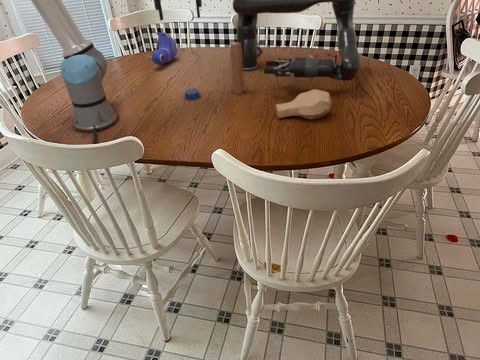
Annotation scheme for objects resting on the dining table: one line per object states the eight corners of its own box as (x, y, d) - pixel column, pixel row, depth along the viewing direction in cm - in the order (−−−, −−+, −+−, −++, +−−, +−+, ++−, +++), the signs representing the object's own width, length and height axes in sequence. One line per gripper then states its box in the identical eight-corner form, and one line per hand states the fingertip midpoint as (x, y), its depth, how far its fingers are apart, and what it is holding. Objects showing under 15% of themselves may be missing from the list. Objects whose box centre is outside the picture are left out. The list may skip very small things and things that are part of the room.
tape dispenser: (333, 81, 157) (348, 64, 170) (335, 70, 154) (350, 54, 166) (297, 74, 164) (314, 58, 177) (297, 63, 161) (315, 47, 174)
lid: (189, 93, 151) (189, 88, 150) (201, 95, 149) (201, 89, 148) (182, 98, 147) (182, 93, 146) (195, 100, 145) (194, 94, 144)
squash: (335, 120, 125) (335, 98, 118) (278, 130, 127) (276, 109, 120) (328, 102, 132) (328, 81, 126) (275, 112, 134) (272, 92, 128)
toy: (165, 64, 197) (145, 70, 175) (161, 31, 190) (139, 33, 168) (182, 63, 195) (163, 69, 172) (178, 30, 188) (158, 32, 166)
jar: (244, 93, 148) (241, 44, 137) (233, 94, 148) (229, 45, 137) (243, 89, 152) (240, 41, 141) (232, 90, 152) (229, 42, 140)
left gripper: (130, -48, 114) (144, 22, 127) (207, -53, 115) (214, 18, 127) (135, -49, 121) (148, 18, 133) (208, -54, 121) (214, 13, 133)
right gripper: (305, 83, 136) (263, 82, 139) (305, 70, 147) (266, 70, 150) (306, 64, 132) (263, 63, 134) (306, 52, 143) (266, 52, 145)
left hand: (180, 18), depth 130 cm, fingers open, 13 cm apart
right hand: (265, 67), depth 142 cm, fingers open, 8 cm apart
